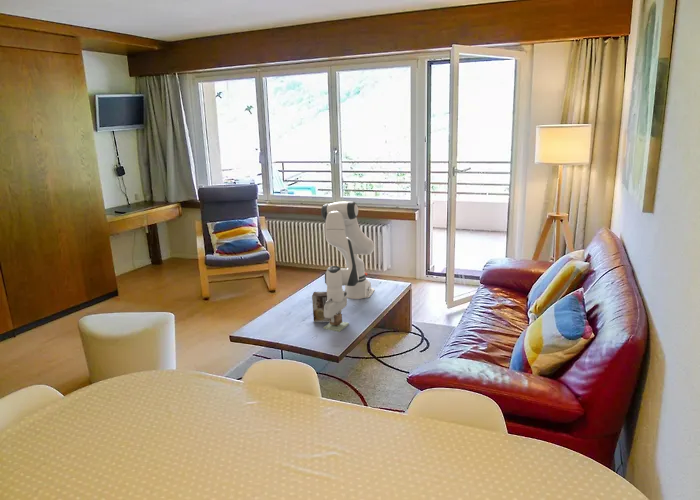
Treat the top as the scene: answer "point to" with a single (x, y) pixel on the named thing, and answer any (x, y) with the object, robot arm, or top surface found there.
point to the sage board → (335, 327)
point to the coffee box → (319, 306)
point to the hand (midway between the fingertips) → (335, 319)
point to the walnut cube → (337, 319)
